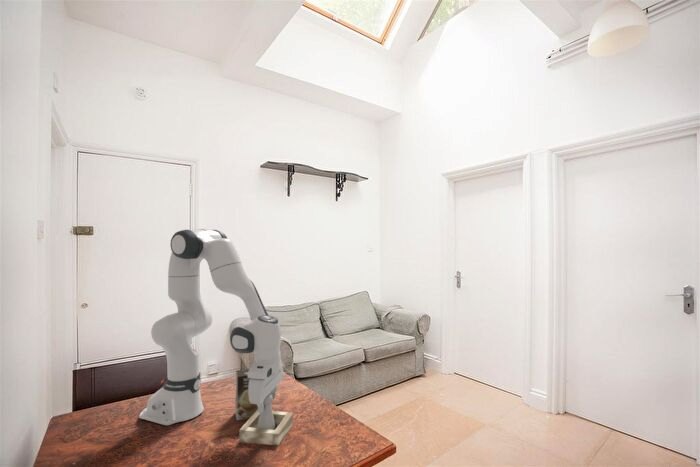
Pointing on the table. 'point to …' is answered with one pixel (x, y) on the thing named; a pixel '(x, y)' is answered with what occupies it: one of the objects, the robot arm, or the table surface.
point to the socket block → (266, 436)
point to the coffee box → (243, 396)
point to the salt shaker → (266, 415)
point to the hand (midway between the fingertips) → (267, 404)
